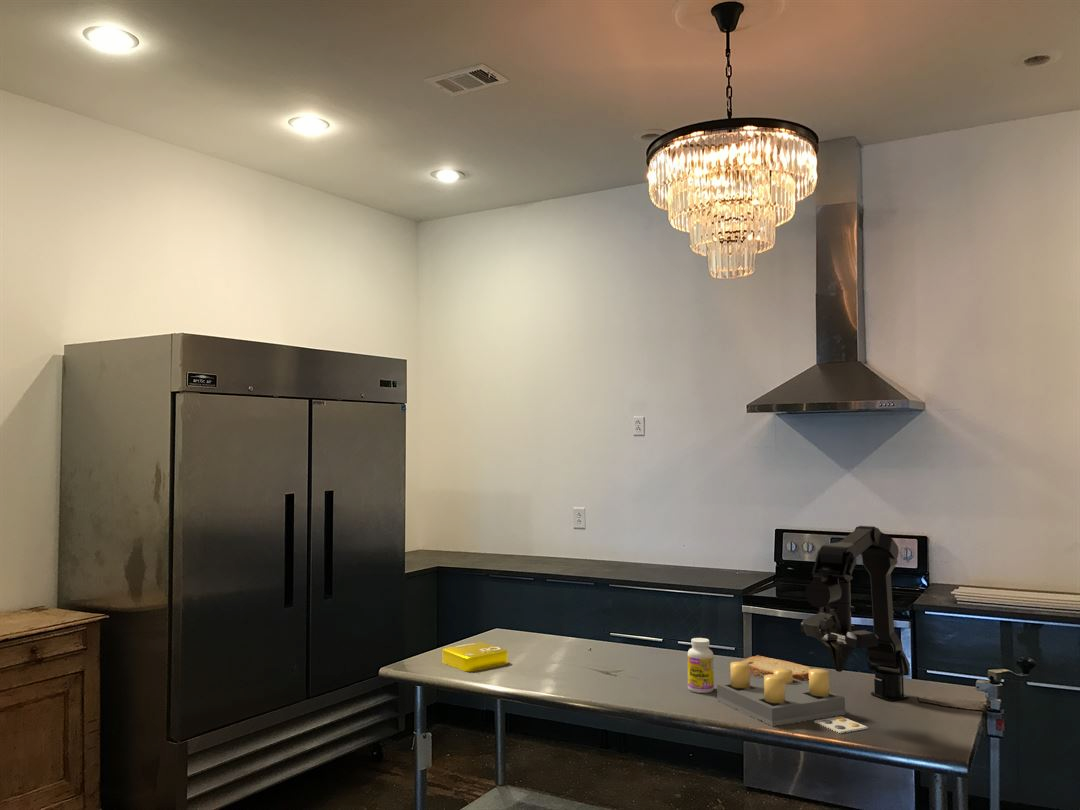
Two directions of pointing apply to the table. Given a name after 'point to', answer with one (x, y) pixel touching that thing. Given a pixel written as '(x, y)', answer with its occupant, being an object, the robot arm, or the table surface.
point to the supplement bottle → (700, 666)
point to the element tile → (474, 656)
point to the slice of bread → (775, 667)
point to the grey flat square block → (792, 710)
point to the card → (841, 724)
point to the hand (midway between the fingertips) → (839, 671)
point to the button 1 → (740, 674)
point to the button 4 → (819, 682)
